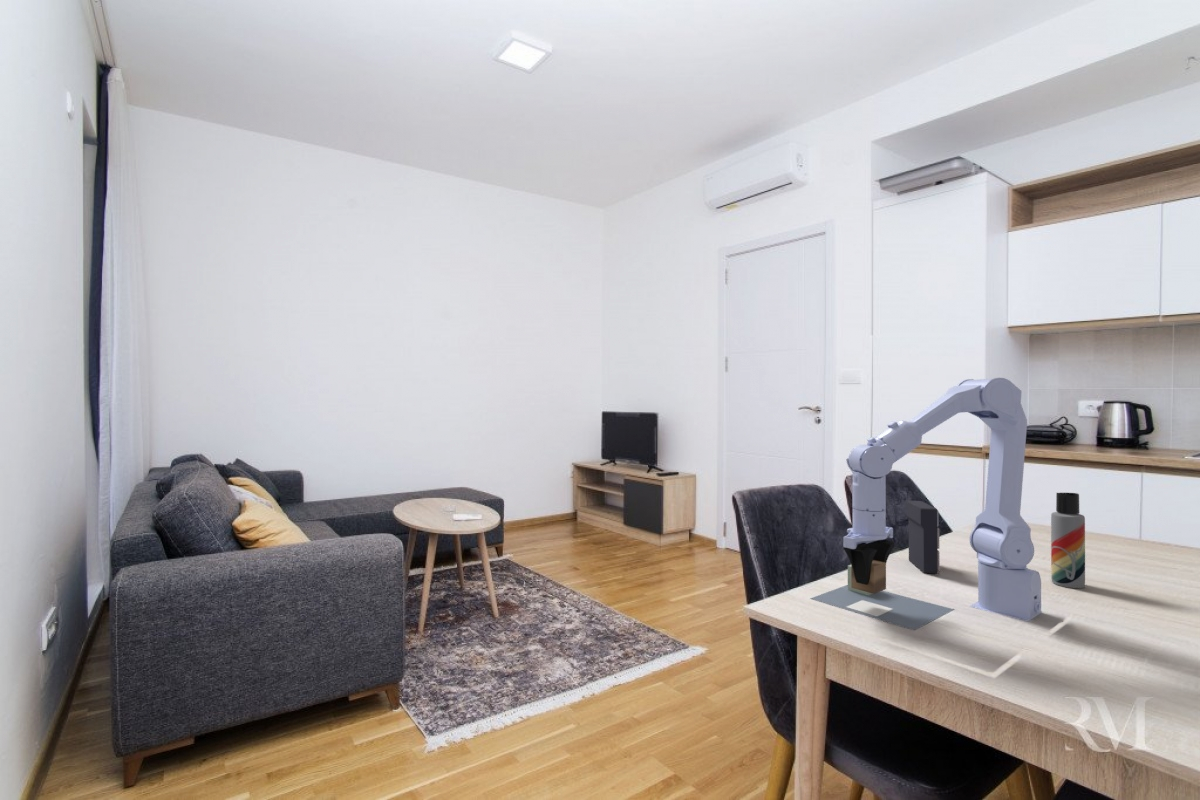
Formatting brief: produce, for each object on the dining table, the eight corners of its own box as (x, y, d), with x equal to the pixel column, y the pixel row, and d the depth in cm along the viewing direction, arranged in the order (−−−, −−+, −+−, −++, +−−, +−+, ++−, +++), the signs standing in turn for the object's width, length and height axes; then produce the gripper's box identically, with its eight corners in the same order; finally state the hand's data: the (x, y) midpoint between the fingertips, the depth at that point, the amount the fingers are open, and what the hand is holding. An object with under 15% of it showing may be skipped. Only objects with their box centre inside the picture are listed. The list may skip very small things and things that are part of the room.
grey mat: (954, 612, 109) (954, 608, 109) (914, 633, 99) (914, 629, 99) (852, 585, 125) (852, 582, 125) (809, 601, 115) (809, 598, 115)
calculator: (941, 574, 133) (941, 509, 133) (921, 573, 133) (920, 508, 133) (924, 561, 143) (924, 500, 143) (905, 560, 144) (905, 500, 144)
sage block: (879, 591, 120) (879, 566, 120) (868, 595, 117) (868, 570, 117) (858, 585, 123) (858, 562, 123) (847, 589, 120) (847, 565, 120)
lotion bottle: (1056, 586, 124) (1056, 493, 124) (1047, 579, 129) (1047, 489, 129) (1089, 590, 121) (1089, 494, 121) (1079, 582, 127) (1078, 490, 127)
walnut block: (886, 589, 110) (885, 562, 110) (874, 593, 107) (874, 566, 107) (863, 583, 113) (863, 557, 113) (851, 587, 110) (851, 561, 110)
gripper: (868, 501, 117) (868, 568, 117) (828, 510, 109) (828, 582, 109) (903, 506, 112) (904, 577, 112) (864, 516, 103) (864, 592, 103)
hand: (869, 580), depth 110 cm, fingers closed on walnut block, 4 cm apart
